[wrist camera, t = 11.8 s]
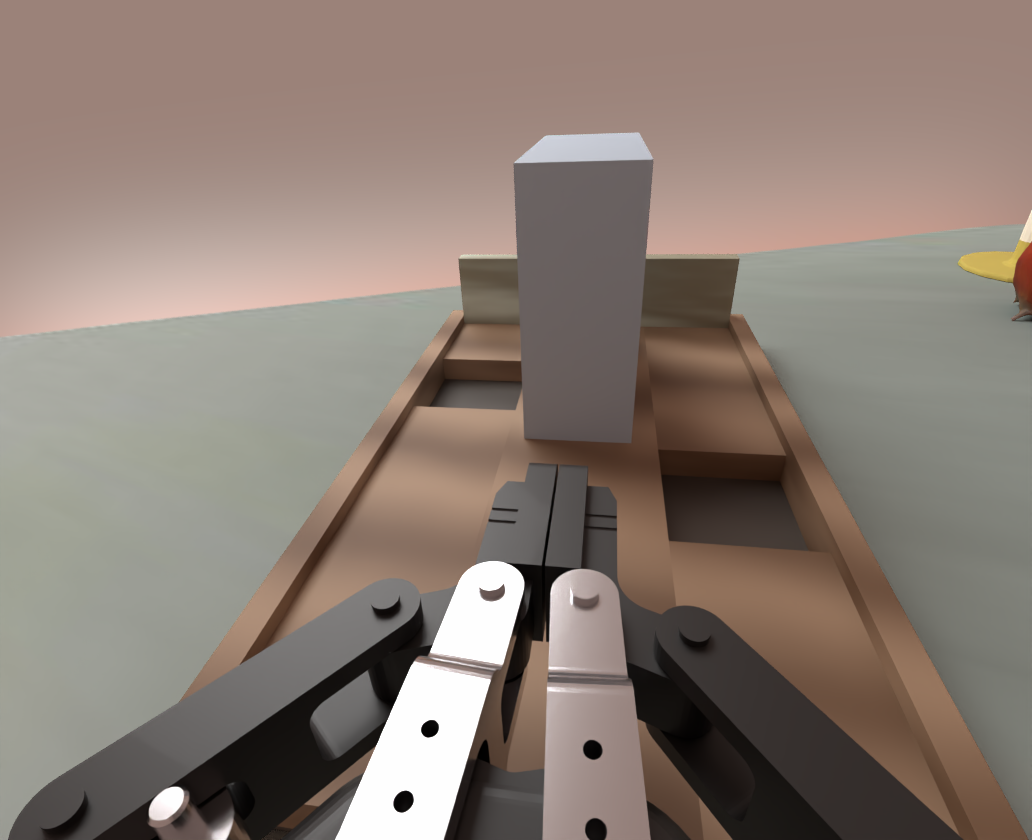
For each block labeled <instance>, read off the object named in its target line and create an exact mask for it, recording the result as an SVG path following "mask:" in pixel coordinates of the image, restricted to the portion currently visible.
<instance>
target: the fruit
mask: <svg viewBox="0 0 1032 840" xmlns="http://www.w3.org/2000/svg"><path fill="white" fill-rule="evenodd" d="M1013 285H1014V287H1015V292H1016V298H1015V301H1014V302H1019V309H1020V311H1019V314H1017V315H1015V316H1014V317H1012V318H1011V319H1012V321H1014V320H1016V319H1018V318H1020V317H1023V316H1025V315H1032V242H1031V243H1030V244H1029V245H1028V247H1027V248H1026V249H1025V250H1024V252H1023V253H1022V254H1021V256H1020V257H1019V258H1018V260H1017V262H1016V266H1015V273H1014V277H1013ZM1014 302H1013V303H1014Z"/></svg>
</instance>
